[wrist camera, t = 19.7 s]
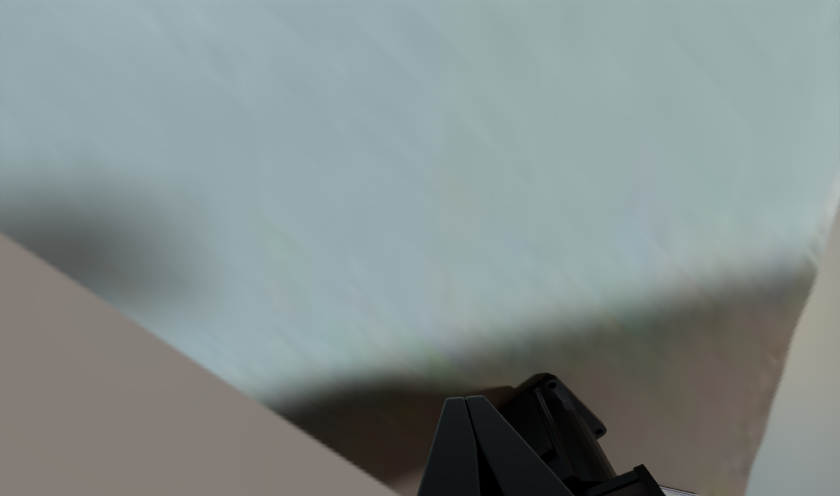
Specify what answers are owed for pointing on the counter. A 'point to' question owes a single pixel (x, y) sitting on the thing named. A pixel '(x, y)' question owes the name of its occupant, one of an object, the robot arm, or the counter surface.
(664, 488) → the medicine box
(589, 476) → the robot arm
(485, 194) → the counter surface
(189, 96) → the counter surface
